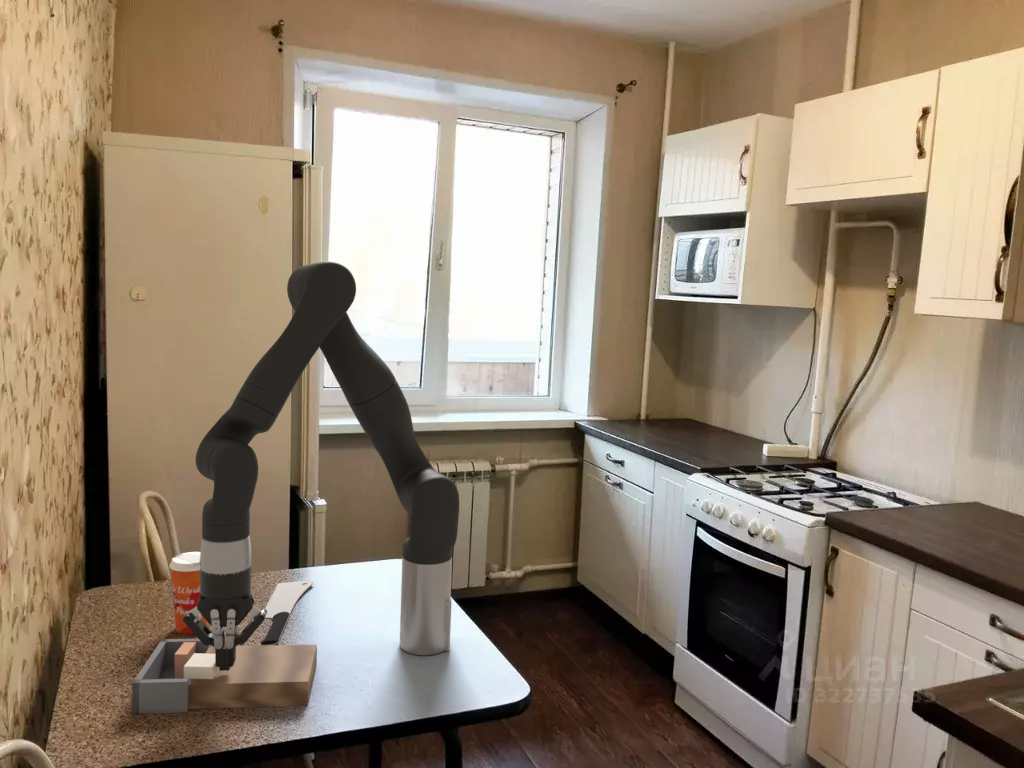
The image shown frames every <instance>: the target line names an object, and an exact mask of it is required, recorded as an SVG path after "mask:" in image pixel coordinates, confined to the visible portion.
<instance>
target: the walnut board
mask: <svg viewBox="0 0 1024 768" xmlns="http://www.w3.org/2000/svg"><path fill="white" fill-rule="evenodd" d="M206 654H215V647H214V646H211V647H209V648H208V650H207V652H206ZM317 657H318V644H280V645H279V644H278V645H265V646H261V645H237V646H236V660H235V662H234V665H233V667H231V668H230V670H227V671H225V670H224V671H220V670H219V671H218V672H217V674H216V675H215V677H214V678H213V679H192V680H191V682H190V684H189V710H197V709H198V710H199V709H200V710H201V709H227V708H228V709H229V708H230V709H232V708H233V709H234V708H262V707H263V708H265V707H266V708H267V707H293V706H294V707H298V706H300V705H303V706H308V705H309V703H310V702H309V701H310V698H311V693H312V688H313V684H314V680H315V675H316V670H317V667H316V666H317V664H318V663H317V661H318V658H317Z"/></svg>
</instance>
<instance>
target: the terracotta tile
mask: <svg viewBox="0 0 1024 768" xmlns="http://www.w3.org/2000/svg"><path fill="white" fill-rule="evenodd" d="M194 653H196V642H184V643H183V644H182V645H181V647H180V648H179V649H178V651H177V652H176V653H175V679H184V665H185V664H186V663H187V662H188V660H189V659H190V658H191V657H192V655H193V654H194Z"/></svg>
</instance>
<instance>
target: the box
mask: <svg viewBox="0 0 1024 768" xmlns="http://www.w3.org/2000/svg"><path fill="white" fill-rule="evenodd" d="M184 642H196V653H204V654H206V652H207V650H208V648H209V647H212V646H211V645H208V646H205V645H204V644H203V643H202V642H201V641H200V640H199V639H198V638H167V639H166V638H164V639H163V638H162V639H160V642H159V643H157V645H156V647H155V649H154V650H153V652H152V653H151V655H149V658H148V659H147V660H146V662H145V663H144V665H143V666H142V668H141V669H140V671H139V672H138V674H137V675H136V677H135V678H134V680H133V681H132V683H131V690H132V691H131V693H132V694H131V695H132V697H131V698H132V699H131V700H132V701H131V705H132V706H131V707H132V715H143V714H144V715H145V714H171V713H172V714H173V713H175V714H176V713H177V714H178V713H182V714H183V713H188V712H189V710H190V709H189V684H190V682H191V680H192V679H189V678H188V679H175V653H176V652H177V651H178V649H179V648H180V647H181V645H182V644H183V643H184Z"/></svg>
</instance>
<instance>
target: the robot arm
mask: <svg viewBox="0 0 1024 768" xmlns="http://www.w3.org/2000/svg"><path fill="white" fill-rule="evenodd" d="M286 288H287V289H286V292H287V298H288V300H289V304H290V305H291V307H292V309H293V310H294V313H293V315H292V317H291V319H290V320H289V323H288V324H287V326H286V327H285V329H284V330H283V331H282V333H281V334H280V335H279V337H278V338H277V339H276V341H275V342H274V343H273V344H272V346H270V348H268V350H267V351H266V352H265V353H264V354H263V355H262V357H261V358H260V359H259V360H258V362H257V363H256V364H255V366H254V367H253V368H252V370H251V371H250V372H249V375H248V376H247V377H246V379H245V380H244V383H243V384H242V386H241V388H240V389H239V391H238V393H237V395H236V397H235V398H234V400H233V402H232V404H231V406H230V407H229V409H228V410H227V411H225V412H224V413H223V415H222V416H220V418H219V419H218V420H217V421H216V422H215V423H214V424H213V426H212V427H211V428H210V429H209V431H208V432H206V434H205V435H204V437H203V438H202V440H201V441H200V443H199V445H198V448H197V450H196V454H195V466H196V468H197V471H198V472H199V473H200V474H201V476H203V477H204V478H206V479H208V480H211V481H212V482H213V492H212V497H211V498H210V499H208V500H207V501H206V502H204V504H203V508H202V513H201V514H202V515H201V545H200V551H199V552H200V599H199V601H198V603H197V606H196V607H195V608H194V609H192V610H188V611H187V613H186V614H185V616H184V618H183V621H184V623H185V624H186V625H187V626H188V627H189V628H190V630H191V631H192V632H193V633H194V634H193V635H195V636H196V639H199V640H200V641H201V642H202V643H203V644H204V645H205V646H208V645H211V647H212V646H214V647H215V664H216V667H219V670H220V671H224V670H225V671H227V670H230V668H231V667H233V665H234V662H235V660H236V646H244V645H245V643H246V642H247V641H248V640H249V639H250V638H251V636H252V635H253V634H254V633H255V632H256V630H257V629H258V628H259V627H260V625H262V623H264V621H265V620H266V618H265V617H266V614H267V610H266V609H265V608H259V607H258V606H257V605H255V600H254V597H253V596H252V544H251V535H250V533H251V531H250V528H251V523H250V522H251V515H250V514H251V512H250V510H251V506H252V502H253V499H254V495H255V491H256V487H257V482H258V479H259V478H258V477H259V462H258V461H259V460H258V457H257V453H256V452H255V450H254V449H253V447H251V446H250V445H249V444H250V442H252V440H253V439H254V438H255V437H256V436H257V435H259V434H263V433H267V432H268V431H269V430H270V429H271V428H272V427H273V426H274V424H275V422H276V421H277V418H278V417H279V415H280V413H281V412H282V410H283V407H284V406H285V404H286V403H287V400H288V399H289V397H290V395H291V393H292V391H293V389H294V387H295V386H296V384H297V382H298V381H299V379H300V377H301V375H303V372H304V371H305V369H306V368H307V366H308V364H309V363H310V362H311V360H312V358H313V357H314V356H315V354H316V353H317V351H318V350H319V349H320V351H321V353H322V355H323V357H324V358H325V360H326V362H327V364H328V366H329V368H330V371H331V372H332V374H333V376H334V378H335V380H336V381H337V383H338V386H339V387H340V389H341V391H342V394H343V395H344V398H345V400H346V401H347V403H348V405H349V407H350V408H351V411H352V412H353V415H354V416H355V418H356V419H357V421H358V423H359V425H360V427H361V428H362V430H363V431H364V433H365V435H366V437H367V438H368V439H369V441H370V443H371V445H372V446H373V447H374V450H375V451H377V454H378V455H379V457H380V458H381V459H382V461H383V464H384V466H385V468H386V471H387V472H388V474H389V477H390V480H391V482H392V486H393V488H394V490H395V493H396V496H397V498H398V500H399V502H400V504H401V506H402V507H403V509H404V510H405V511H406V512H407V513H408V514H410V515H411V516H410V517H411V518H410V519H411V521H410V533H409V537H407V538H406V539H405V540H404V541H403V543H402V555H401V556H402V557H401V583H400V585H401V587H400V592H401V593H400V615H399V618H400V622H399V623H400V626H399V647H400V648H401V650H403V651H404V652H406V653H408V654H411V655H416V656H430V655H436V654H439V653H442V652H448V651H450V650H451V647H450V646H451V628H452V627H451V626H452V625H451V623H452V622H451V621H452V598H451V595H452V587H451V586H452V572H453V570H452V569H453V568H452V567H453V550H454V547H455V544H456V543H457V538H458V530H459V516H460V495H459V490H458V487H457V486H456V483H455V482H454V481H453V480H451V479H450V478H449V477H448V476H445V475H444V474H442V473H441V472H439V471H437V470H436V468H435V467H433V465H432V464H431V462H430V461H429V460H428V457H427V456H426V455H425V453H424V452H423V450H422V448H421V446H420V445H419V443H418V441H417V438H416V435H415V430H414V424H413V419H412V415H411V410H410V407H409V403H408V401H407V399H406V397H405V394H404V393H403V390H402V388H401V386H400V384H399V383H398V381H397V379H396V377H395V375H394V374H393V372H392V370H391V369H390V367H389V366H388V365H387V364H386V363H385V361H384V360H383V358H381V357H380V355H379V354H378V353H377V352H376V351H374V349H373V348H372V347H371V346H370V345H369V344H368V343H367V342H366V340H364V338H362V336H361V335H360V334H359V332H358V331H357V329H356V328H355V326H354V323H352V321H351V318H350V316H349V314H348V311H349V309H350V308H351V307H352V305H353V303H354V301H355V299H356V294H357V284H356V280H355V277H354V275H353V273H352V272H351V271H350V270H349V269H348V267H346V266H345V265H343V264H341V263H339V262H336V261H328V260H327V261H319V262H315V263H314V262H313V263H310V264H305V265H302V266H300V267H298V268H296V269H295V270H293V272H291V274H290V276H289V278H288V280H287V287H286ZM249 613H250V616H249V623H247V625H246V626H245V627H244V628H243V630H242V631H241V632H240V633H238V629H239V628H238V627H239V625H240V624H241V623H242V622H243V621H244V619H245V618H246V617H247V616H248V614H249ZM201 614H202V615H203V617H204V618H205V619H206V621H207V622H208V623H207V625H206V624H205V623H204V622H203V621H202V620H201V618H202V615H201ZM208 624H209V625H210V626H211V629H210V628H209V627H208Z"/></svg>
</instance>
